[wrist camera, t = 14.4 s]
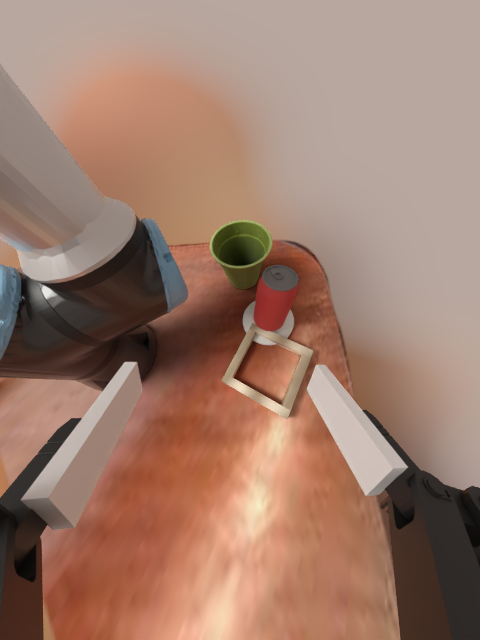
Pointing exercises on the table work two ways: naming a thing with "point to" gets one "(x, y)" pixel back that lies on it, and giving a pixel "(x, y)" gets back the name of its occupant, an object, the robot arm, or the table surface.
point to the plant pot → (241, 251)
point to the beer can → (275, 297)
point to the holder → (294, 383)
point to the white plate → (283, 331)
